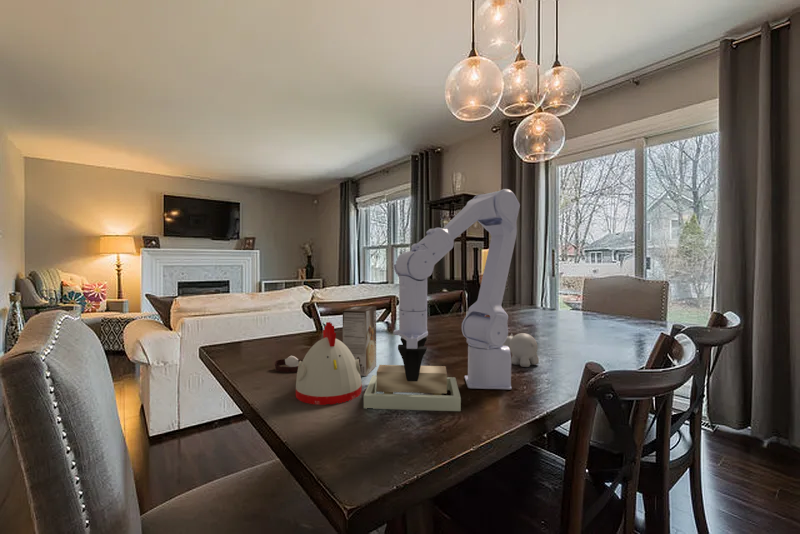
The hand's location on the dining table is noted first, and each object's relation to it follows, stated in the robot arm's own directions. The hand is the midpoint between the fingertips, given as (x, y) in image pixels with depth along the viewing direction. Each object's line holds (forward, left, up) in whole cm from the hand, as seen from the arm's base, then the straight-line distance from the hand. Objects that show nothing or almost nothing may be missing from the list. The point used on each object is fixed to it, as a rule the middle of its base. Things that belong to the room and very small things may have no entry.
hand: (412, 375), depth 78 cm
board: (0, 0, -3) cm, 3 cm away
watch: (+32, -17, -5) cm, 37 cm away
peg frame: (0, 0, -5) cm, 5 cm away
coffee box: (+14, -18, -5) cm, 23 cm away
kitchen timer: (+18, -2, -5) cm, 19 cm away
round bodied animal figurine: (-28, -29, -5) cm, 41 cm away
